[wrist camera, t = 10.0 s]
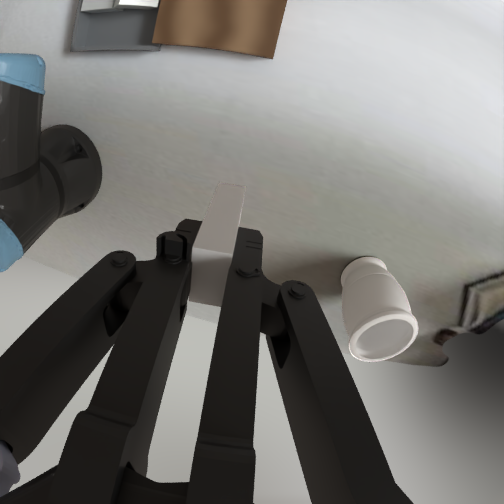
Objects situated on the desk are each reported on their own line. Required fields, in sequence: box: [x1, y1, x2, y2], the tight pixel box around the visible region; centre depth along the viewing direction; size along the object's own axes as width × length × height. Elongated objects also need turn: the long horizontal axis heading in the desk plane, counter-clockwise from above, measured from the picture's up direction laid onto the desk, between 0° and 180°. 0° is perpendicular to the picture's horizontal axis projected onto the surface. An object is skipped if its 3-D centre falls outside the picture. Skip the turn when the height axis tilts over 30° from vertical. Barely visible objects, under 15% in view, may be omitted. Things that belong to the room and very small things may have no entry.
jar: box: [341, 257, 418, 362], centre depth 46 cm, size 11×10×15 cm
